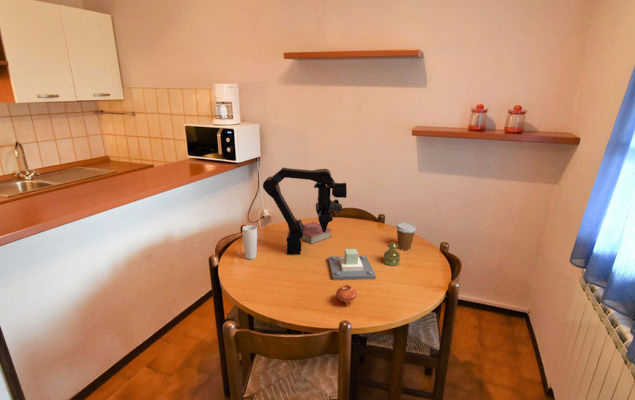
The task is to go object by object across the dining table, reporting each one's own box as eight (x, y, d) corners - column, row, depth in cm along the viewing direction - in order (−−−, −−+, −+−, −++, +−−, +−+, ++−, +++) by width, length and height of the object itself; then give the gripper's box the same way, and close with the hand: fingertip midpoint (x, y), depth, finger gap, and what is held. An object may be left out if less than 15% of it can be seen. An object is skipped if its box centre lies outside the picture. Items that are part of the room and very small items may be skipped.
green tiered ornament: (399, 267, 156) (401, 247, 153) (382, 265, 158) (384, 245, 154) (399, 259, 163) (401, 240, 160) (383, 258, 164) (385, 238, 161)
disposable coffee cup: (410, 253, 169) (413, 231, 166) (391, 249, 174) (394, 226, 170) (415, 246, 177) (418, 224, 173) (397, 242, 182) (399, 221, 178)
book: (312, 229, 197) (312, 221, 195) (331, 237, 186) (331, 229, 185) (292, 236, 187) (292, 227, 186) (311, 245, 177) (311, 236, 175)
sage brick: (346, 264, 150) (346, 254, 148) (344, 259, 155) (344, 249, 153) (357, 264, 150) (358, 254, 149) (355, 259, 155) (356, 248, 154)
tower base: (333, 280, 144) (333, 272, 143) (328, 259, 161) (328, 252, 160) (375, 278, 146) (376, 271, 145) (366, 258, 163) (366, 252, 162)
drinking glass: (251, 262, 158) (250, 231, 153) (240, 258, 161) (238, 228, 156) (261, 256, 163) (260, 226, 158) (250, 252, 167) (249, 223, 162)
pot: (360, 306, 127) (357, 291, 125) (339, 311, 127) (336, 296, 125) (356, 293, 135) (353, 278, 132) (336, 297, 134) (333, 283, 132)
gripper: (344, 203, 151) (343, 236, 156) (338, 190, 169) (337, 220, 173) (319, 203, 150) (318, 236, 155) (315, 191, 168) (315, 221, 172)
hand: (323, 228), depth 164 cm, fingers open, 9 cm apart
